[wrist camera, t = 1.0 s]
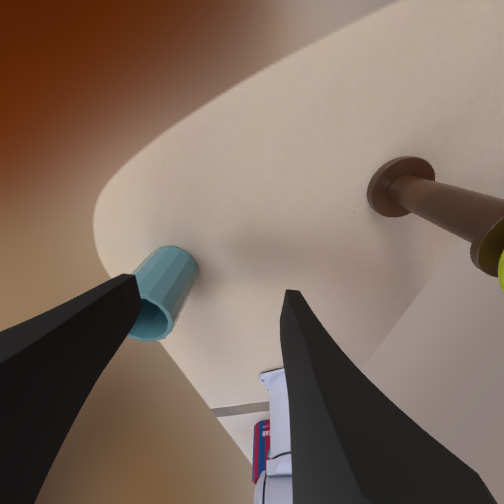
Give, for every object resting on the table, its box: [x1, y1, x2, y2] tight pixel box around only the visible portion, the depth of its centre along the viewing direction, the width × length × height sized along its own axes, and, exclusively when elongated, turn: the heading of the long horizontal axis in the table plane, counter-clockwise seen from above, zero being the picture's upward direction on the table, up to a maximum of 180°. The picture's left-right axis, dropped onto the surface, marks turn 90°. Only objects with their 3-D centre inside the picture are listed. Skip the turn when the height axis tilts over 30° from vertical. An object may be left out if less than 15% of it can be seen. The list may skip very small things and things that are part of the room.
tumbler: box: [127, 246, 198, 342], centre depth 19 cm, size 5×5×7 cm
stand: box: [367, 156, 504, 277], centre depth 13 cm, size 5×5×10 cm
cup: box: [252, 420, 271, 484], centre depth 36 cm, size 7×10×7 cm
